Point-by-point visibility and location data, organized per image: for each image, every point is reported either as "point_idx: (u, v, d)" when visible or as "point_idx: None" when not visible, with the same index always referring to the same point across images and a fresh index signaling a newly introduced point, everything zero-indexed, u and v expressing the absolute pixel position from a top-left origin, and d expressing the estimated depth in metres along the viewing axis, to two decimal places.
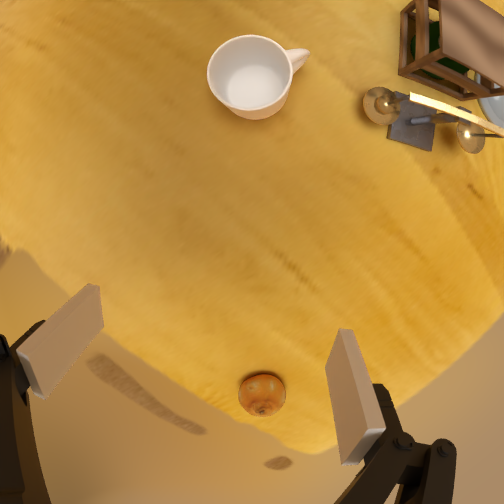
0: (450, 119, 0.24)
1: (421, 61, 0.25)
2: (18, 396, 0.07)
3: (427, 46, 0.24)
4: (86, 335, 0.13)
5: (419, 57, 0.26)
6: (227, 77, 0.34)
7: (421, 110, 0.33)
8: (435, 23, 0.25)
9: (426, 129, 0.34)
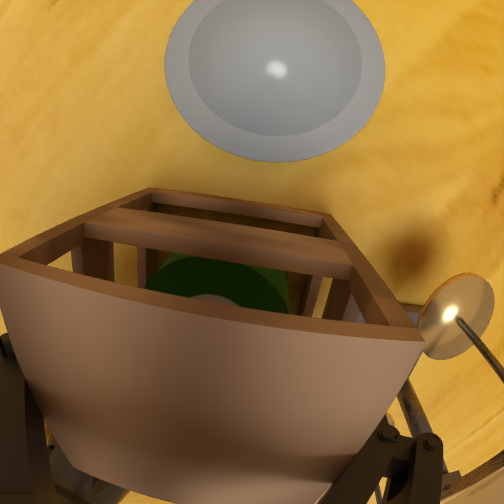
0: None
1: None
2: (30, 396, 0.08)
3: None
4: None
5: None
6: None
7: None
8: None
9: None
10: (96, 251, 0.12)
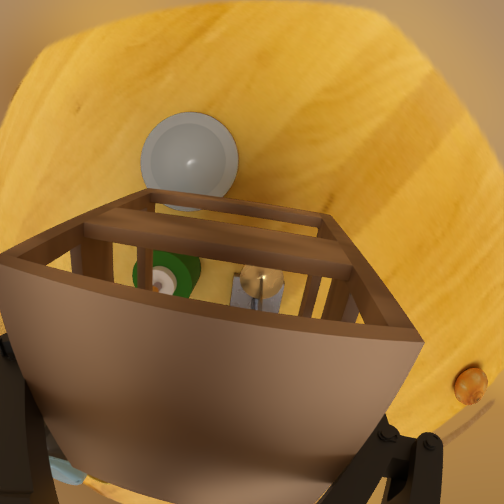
0: None
1: None
2: (31, 396, 0.08)
3: None
4: None
5: None
6: None
7: (242, 294, 0.42)
8: None
9: None
10: (96, 251, 0.12)
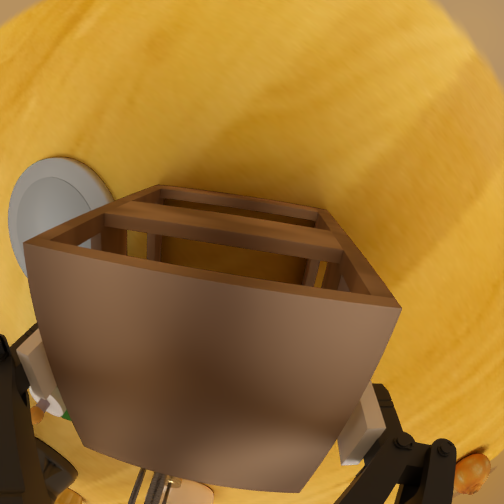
0: None
1: None
2: (18, 396, 0.07)
3: None
4: None
5: None
6: None
7: None
8: None
9: None
10: (113, 240, 0.14)
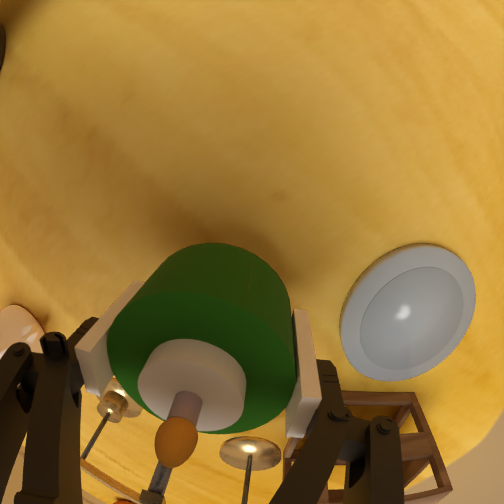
0: None
1: None
2: (70, 398, 0.08)
3: None
4: None
5: None
6: None
7: None
8: (134, 309, 0.11)
9: None
10: None
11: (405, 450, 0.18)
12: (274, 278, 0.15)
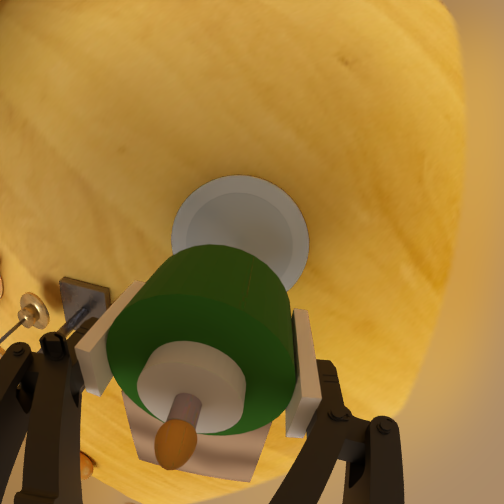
0: None
1: None
2: (70, 398, 0.08)
3: None
4: None
5: None
6: None
7: (87, 299, 0.31)
8: (134, 311, 0.11)
9: None
10: None
11: None
12: (274, 280, 0.15)
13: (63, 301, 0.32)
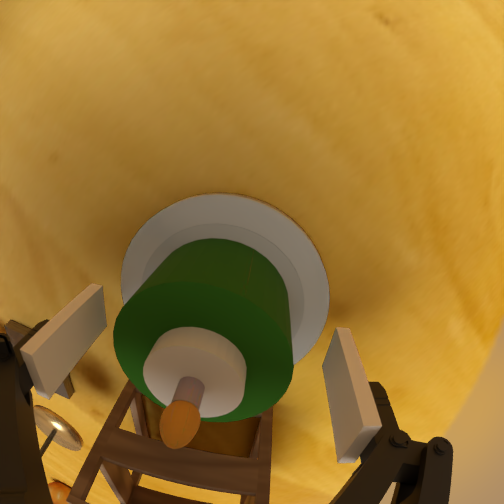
0: None
1: None
2: (21, 396, 0.08)
3: (121, 499, 0.17)
4: (89, 334, 0.14)
5: None
6: None
7: None
8: (141, 298, 0.11)
9: None
10: None
11: (213, 477, 0.14)
12: (273, 271, 0.15)
13: None
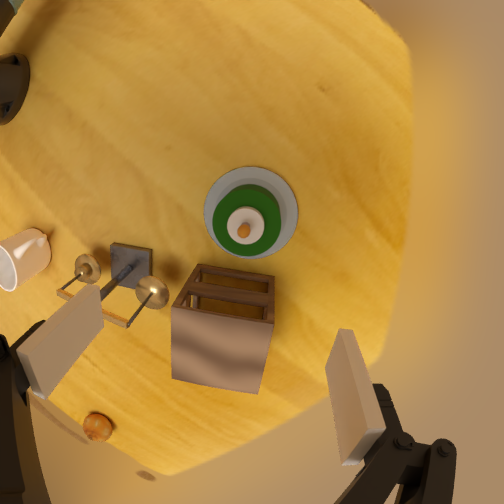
0: None
1: None
2: (18, 396, 0.07)
3: None
4: (86, 335, 0.13)
5: None
6: None
7: (134, 258, 0.44)
8: (228, 196, 0.35)
9: (140, 274, 0.45)
10: None
11: (246, 297, 0.38)
12: (273, 196, 0.39)
13: (112, 261, 0.45)
